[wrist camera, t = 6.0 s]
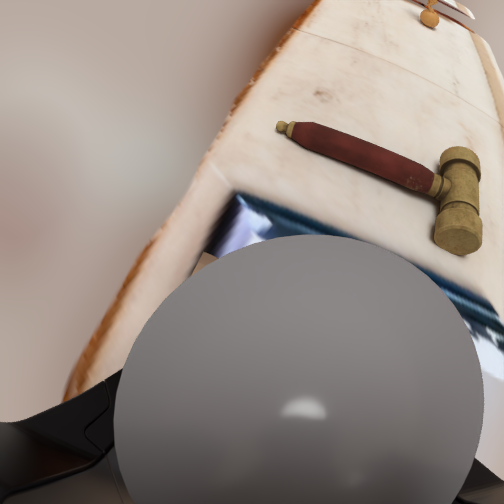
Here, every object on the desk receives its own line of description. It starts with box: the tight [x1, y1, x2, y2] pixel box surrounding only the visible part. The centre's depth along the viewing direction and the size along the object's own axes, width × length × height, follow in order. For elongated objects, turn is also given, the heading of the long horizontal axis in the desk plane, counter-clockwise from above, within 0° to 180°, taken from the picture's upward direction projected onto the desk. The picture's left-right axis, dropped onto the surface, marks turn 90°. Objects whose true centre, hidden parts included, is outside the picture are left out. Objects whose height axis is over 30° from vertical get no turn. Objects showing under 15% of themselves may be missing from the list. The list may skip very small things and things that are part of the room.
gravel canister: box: [114, 235, 484, 504], centre depth 9 cm, size 5×5×12 cm
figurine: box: [420, 0, 439, 27], centre depth 39 cm, size 8×6×12 cm
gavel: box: [276, 121, 482, 255], centre depth 27 cm, size 21×5×10 cm
